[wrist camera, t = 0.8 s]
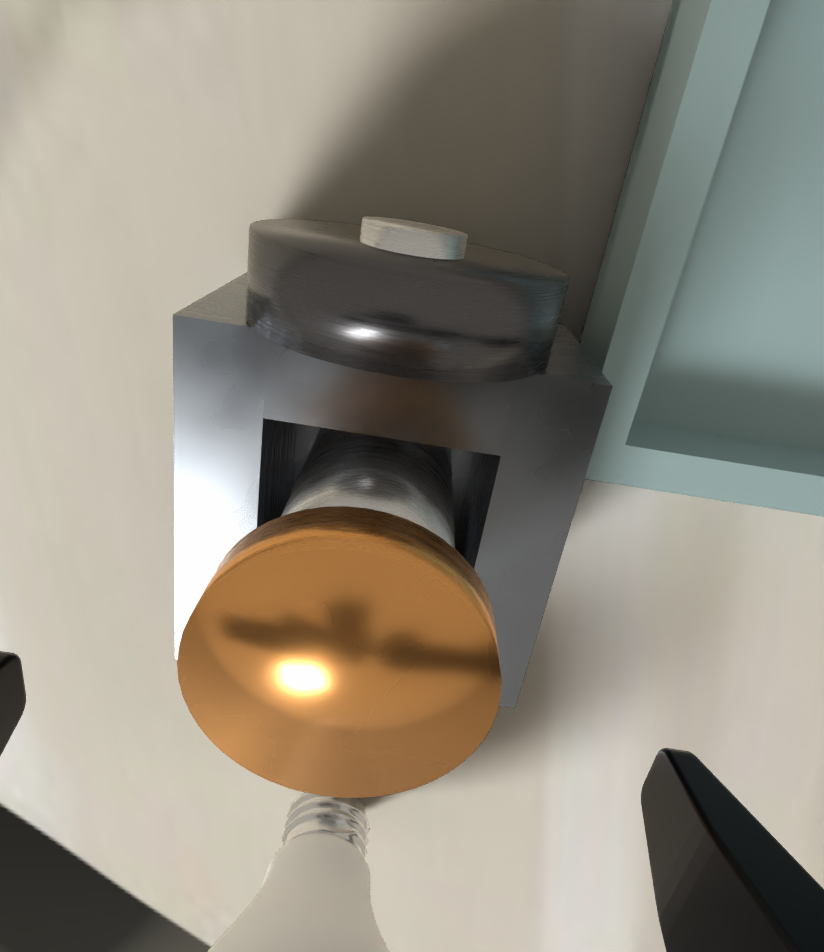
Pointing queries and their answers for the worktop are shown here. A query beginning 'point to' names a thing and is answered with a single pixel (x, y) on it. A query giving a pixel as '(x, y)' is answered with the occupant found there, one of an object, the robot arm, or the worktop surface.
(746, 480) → the tray
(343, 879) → the light bulb
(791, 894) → the robot arm
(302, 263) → the block
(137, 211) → the worktop surface
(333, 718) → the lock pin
